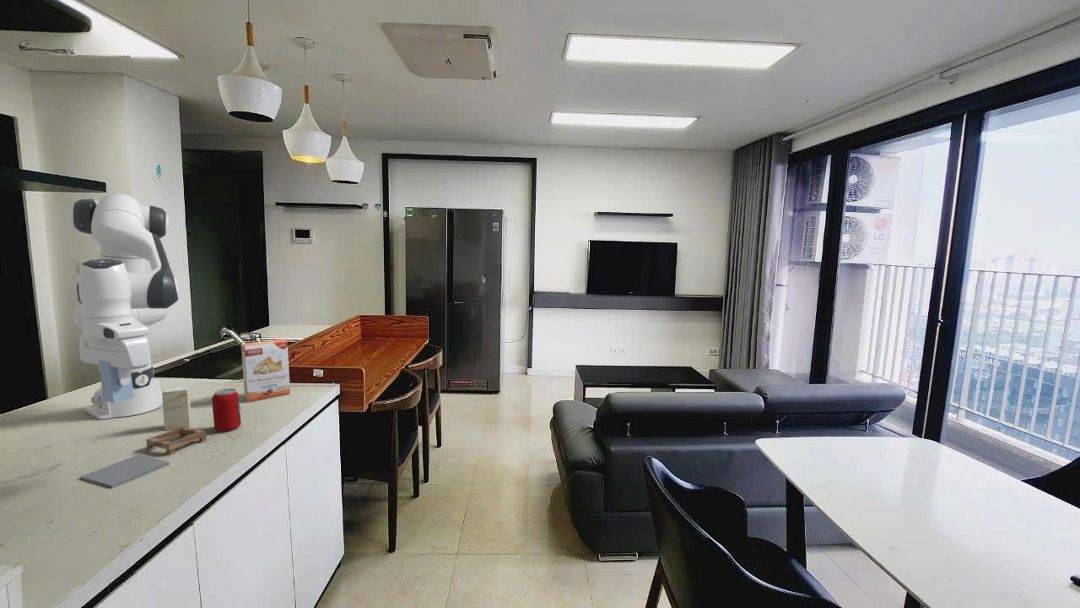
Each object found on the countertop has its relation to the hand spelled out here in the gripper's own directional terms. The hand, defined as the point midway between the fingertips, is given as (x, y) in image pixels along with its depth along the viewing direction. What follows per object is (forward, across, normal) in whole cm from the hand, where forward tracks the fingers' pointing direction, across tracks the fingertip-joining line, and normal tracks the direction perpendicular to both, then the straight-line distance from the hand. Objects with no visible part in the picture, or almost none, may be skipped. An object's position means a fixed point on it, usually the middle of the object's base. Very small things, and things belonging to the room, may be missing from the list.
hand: (116, 383), depth 106 cm
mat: (+23, 0, 0) cm, 23 cm away
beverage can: (+23, -2, +27) cm, 36 cm away
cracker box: (+23, -17, +53) cm, 60 cm away
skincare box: (+23, -18, +23) cm, 37 cm away
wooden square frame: (+23, -4, +14) cm, 27 cm away
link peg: (+4, 0, 0) cm, 4 cm away
